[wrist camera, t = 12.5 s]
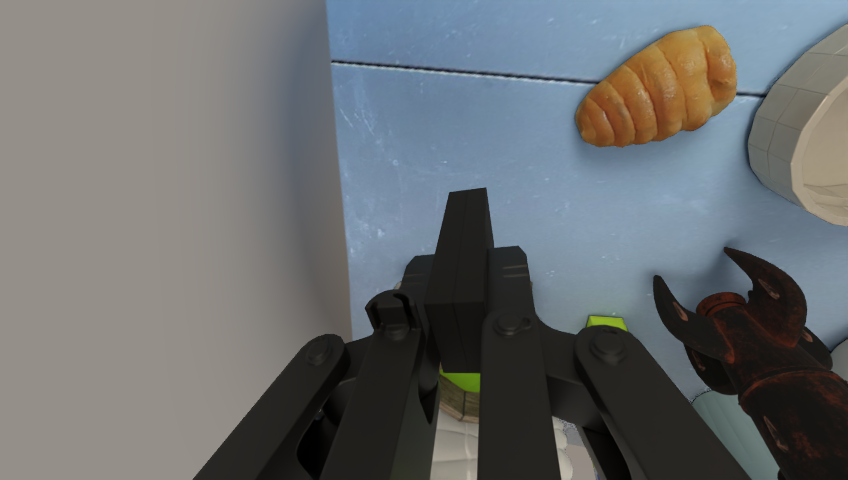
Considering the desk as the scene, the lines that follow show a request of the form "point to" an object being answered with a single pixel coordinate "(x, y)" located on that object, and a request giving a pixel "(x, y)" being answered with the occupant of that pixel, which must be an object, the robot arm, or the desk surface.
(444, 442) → the cherub figurine
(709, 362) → the toy rocket
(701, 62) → the pastry
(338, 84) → the desk surface
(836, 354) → the decorative egg
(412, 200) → the desk surface
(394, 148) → the desk surface
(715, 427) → the cup
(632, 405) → the robot arm
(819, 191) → the bowl
